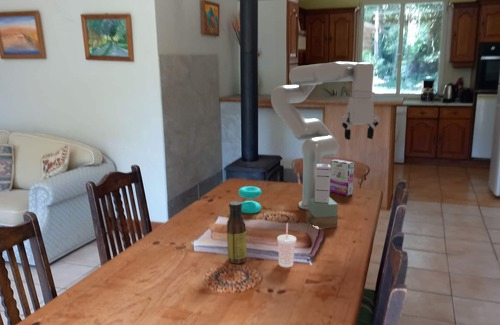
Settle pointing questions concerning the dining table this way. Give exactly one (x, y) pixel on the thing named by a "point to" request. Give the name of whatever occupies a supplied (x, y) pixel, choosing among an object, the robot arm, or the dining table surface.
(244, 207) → the donuts
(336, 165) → the candy bar box
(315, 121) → the robot arm
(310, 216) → the tower base
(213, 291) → the dining table surface
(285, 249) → the beverage cup
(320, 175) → the syrup box
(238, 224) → the sauce bottle
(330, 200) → the tower top
